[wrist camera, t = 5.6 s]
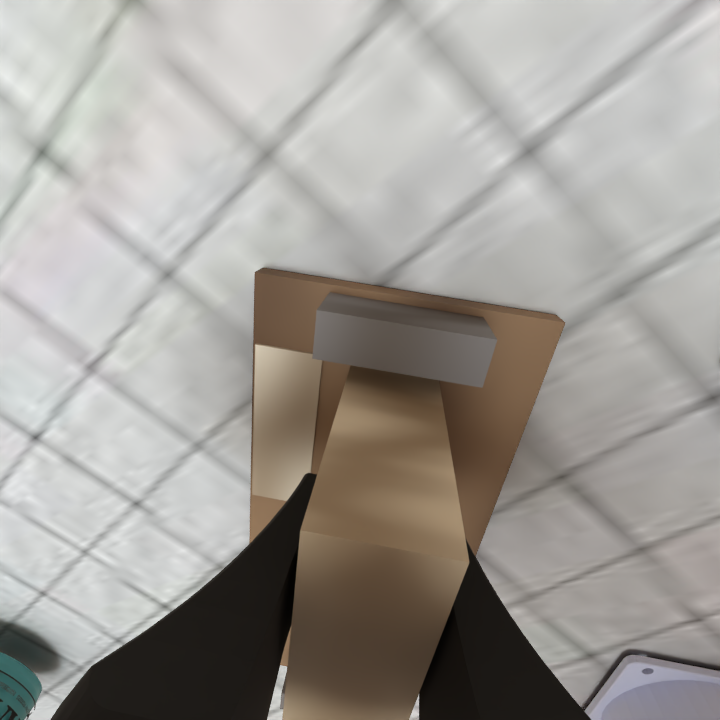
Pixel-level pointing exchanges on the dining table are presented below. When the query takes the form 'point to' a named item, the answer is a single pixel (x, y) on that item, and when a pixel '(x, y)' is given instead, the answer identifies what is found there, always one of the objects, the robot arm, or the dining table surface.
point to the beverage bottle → (17, 689)
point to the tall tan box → (375, 554)
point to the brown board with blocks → (392, 354)
